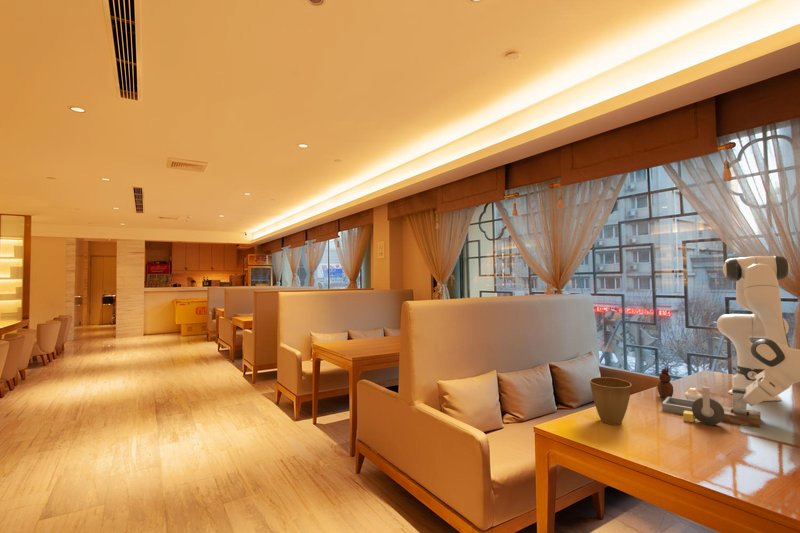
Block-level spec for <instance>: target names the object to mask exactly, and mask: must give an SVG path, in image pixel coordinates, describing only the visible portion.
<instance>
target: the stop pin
mask: <svg viewBox="0 0 800 533" xmlns="http://www.w3.org/2000/svg"><path fill="white" fill-rule="evenodd" d="M731 389H732V394H731V395H732V407H733V413H735V414H741V415H747V410H748V409H747V405H748V404H745V405H742V406H741V407H738V406H737V405H736V402H737V401H739V400H741V399H742V398H743V397H744V394H745V393H746V389H741V388H734V387H733V386H732V388H731Z"/></svg>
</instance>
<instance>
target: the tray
mask: <svg viewBox="0 0 800 533" xmlns="http://www.w3.org/2000/svg"><path fill="white" fill-rule="evenodd" d="M694 402H695V401H694V400H687V398H680V397H674V396H672V397H669V396H668V397H667V398H664V400H663V401H662V403H661V411H664V412H668V413H676V414H679V415H683V412H684V411H691V412H692V405H693V403H694Z"/></svg>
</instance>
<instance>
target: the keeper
mask: <svg viewBox="0 0 800 533" xmlns="http://www.w3.org/2000/svg"><path fill="white" fill-rule="evenodd" d="M722 407H723V409H724V417H723V420H722V421H721V422H726V423H729V424H731V423H732V424H737V425H742V426H748V427H754V428H761V421H762V420H761V418H762V417H761V411H759V410H758V411H757V410H753V409H752V410H751V409H747V415H741V414H735V413H733V406H729V405H728V406H726V405H722Z"/></svg>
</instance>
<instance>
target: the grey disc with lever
mask: <svg viewBox="0 0 800 533" xmlns="http://www.w3.org/2000/svg"><path fill="white" fill-rule="evenodd" d="M701 390H702V392H701V393H702V396H701V398H698V399H697V400H695V402H694V403H693V405H692V412H691V411H684V412H683V414H682V415H683V416H682V418H683V420H682V421H685V422H688V423H689V422H690V423H694V422H695V420H698V421H699V422H700V423H702V424H704V425H710V426H714V425H718V424H720V423H721V422H723V421H722V420H723V417H724V409H723V407H722V406H723V405H722V404H721V403H720V402H719V401H718V400H716V399H714V398H712V397H711V396H710V387H709V386H702V388H701Z"/></svg>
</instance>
